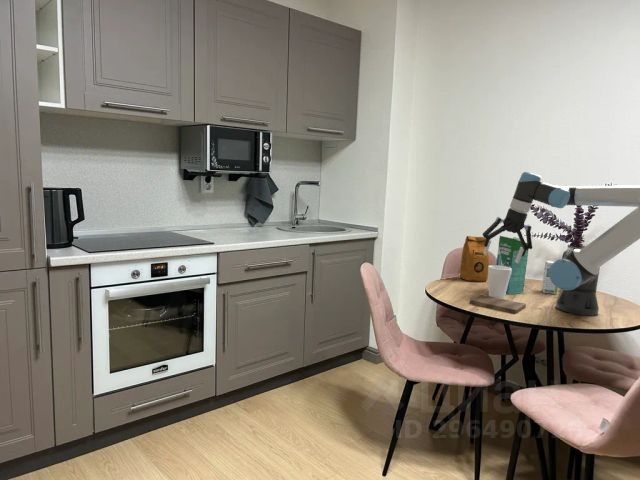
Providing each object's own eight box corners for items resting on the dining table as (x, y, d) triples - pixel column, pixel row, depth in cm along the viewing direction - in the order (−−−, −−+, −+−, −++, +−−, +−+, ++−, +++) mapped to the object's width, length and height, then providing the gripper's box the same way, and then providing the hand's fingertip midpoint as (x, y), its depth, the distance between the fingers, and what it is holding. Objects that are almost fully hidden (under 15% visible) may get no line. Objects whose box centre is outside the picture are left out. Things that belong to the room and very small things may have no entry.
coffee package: (489, 283, 236) (494, 238, 233) (464, 281, 235) (469, 237, 232) (481, 278, 246) (486, 235, 243) (457, 277, 245) (462, 234, 242)
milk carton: (523, 293, 218) (530, 238, 215) (507, 294, 215) (514, 238, 211) (508, 288, 227) (515, 235, 223) (493, 289, 223) (499, 235, 220)
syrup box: (543, 292, 222) (547, 261, 220) (541, 290, 228) (545, 259, 226) (556, 294, 220) (560, 263, 218) (555, 291, 226) (559, 261, 224)
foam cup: (483, 297, 206) (486, 267, 204) (486, 293, 214) (490, 264, 213) (506, 301, 202) (510, 270, 200) (509, 296, 210) (513, 267, 208)
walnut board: (525, 307, 194) (525, 303, 194) (515, 313, 184) (516, 310, 183) (481, 298, 205) (481, 294, 205) (469, 303, 195) (469, 299, 194)
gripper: (546, 215, 199) (527, 262, 206) (486, 200, 200) (469, 248, 207) (552, 220, 192) (532, 269, 199) (490, 204, 193) (472, 253, 200)
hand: (500, 258), depth 203 cm, fingers open, 13 cm apart
